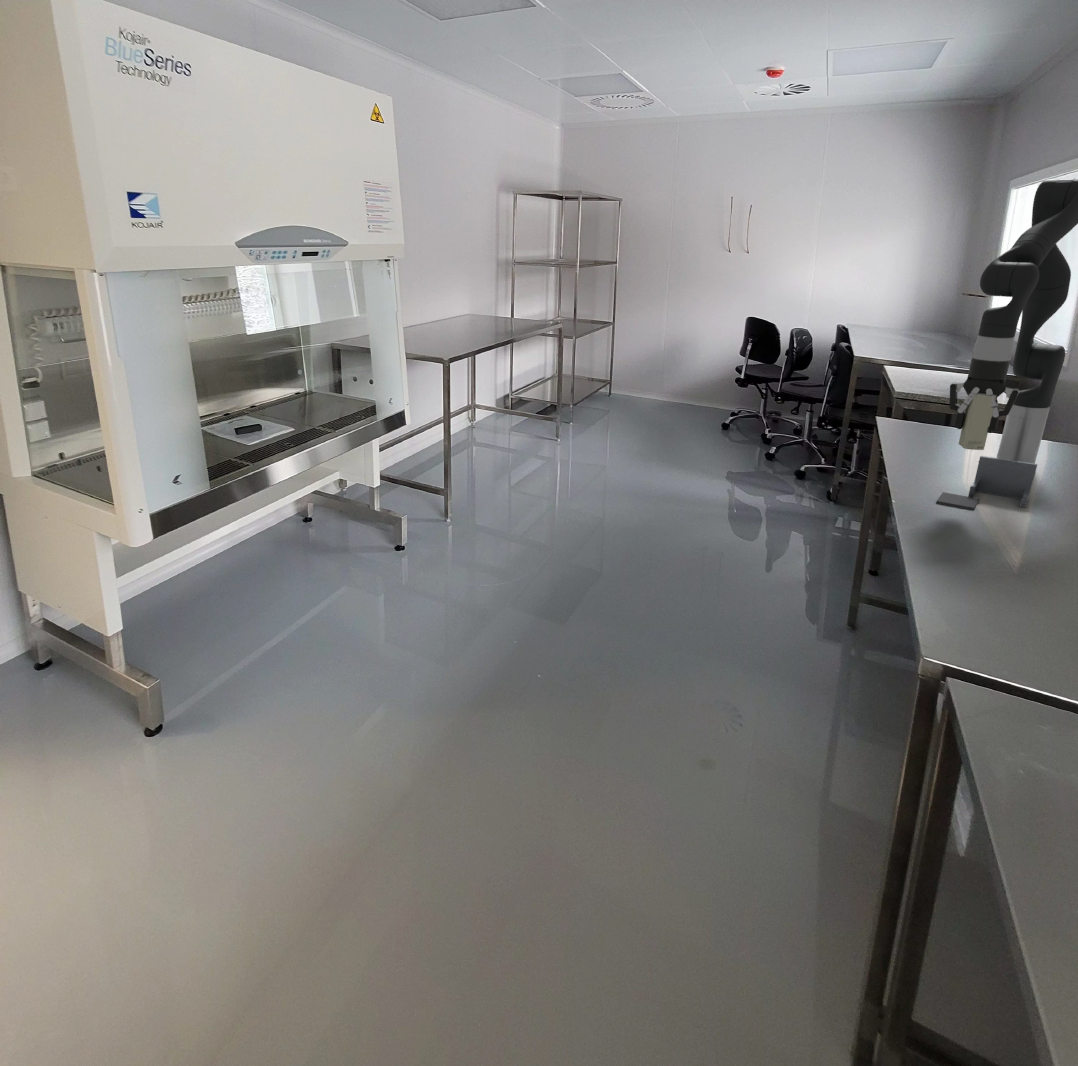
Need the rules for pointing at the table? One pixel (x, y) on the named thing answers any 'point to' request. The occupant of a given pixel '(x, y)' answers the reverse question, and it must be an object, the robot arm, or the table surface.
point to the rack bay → (1004, 478)
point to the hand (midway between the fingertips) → (974, 430)
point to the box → (976, 422)
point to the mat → (958, 501)
